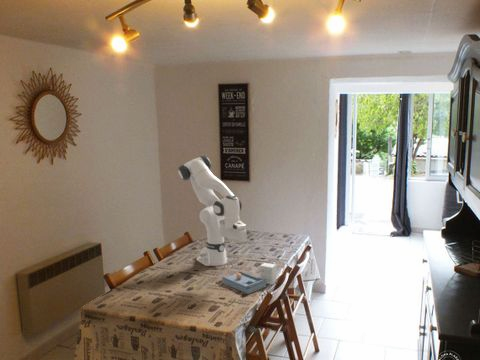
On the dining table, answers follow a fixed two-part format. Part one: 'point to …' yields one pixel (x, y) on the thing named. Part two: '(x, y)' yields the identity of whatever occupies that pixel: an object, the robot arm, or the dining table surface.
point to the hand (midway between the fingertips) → (232, 246)
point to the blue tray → (245, 282)
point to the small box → (268, 273)
